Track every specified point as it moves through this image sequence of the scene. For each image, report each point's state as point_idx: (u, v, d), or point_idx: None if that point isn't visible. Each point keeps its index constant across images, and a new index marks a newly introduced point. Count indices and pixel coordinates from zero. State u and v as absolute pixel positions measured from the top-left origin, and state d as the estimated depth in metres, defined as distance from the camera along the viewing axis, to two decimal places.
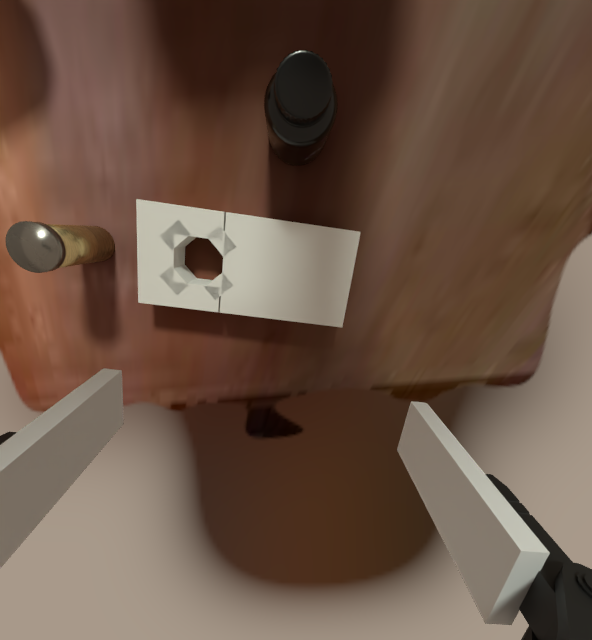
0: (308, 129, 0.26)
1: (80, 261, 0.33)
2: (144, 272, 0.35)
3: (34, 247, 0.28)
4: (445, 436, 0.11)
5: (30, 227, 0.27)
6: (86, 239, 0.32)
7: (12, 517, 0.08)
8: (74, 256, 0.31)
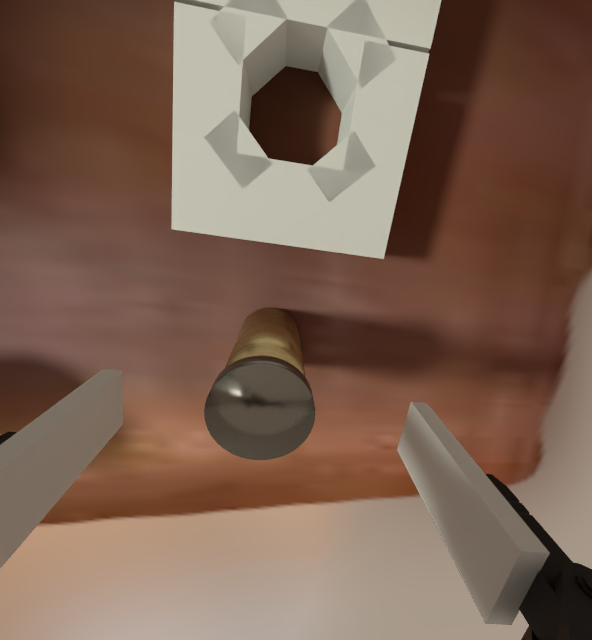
0: None
1: (295, 347, 0.16)
2: (320, 235, 0.16)
3: (259, 411, 0.13)
4: (445, 436, 0.11)
5: (216, 410, 0.12)
6: (253, 332, 0.17)
7: (12, 517, 0.08)
8: (284, 349, 0.15)
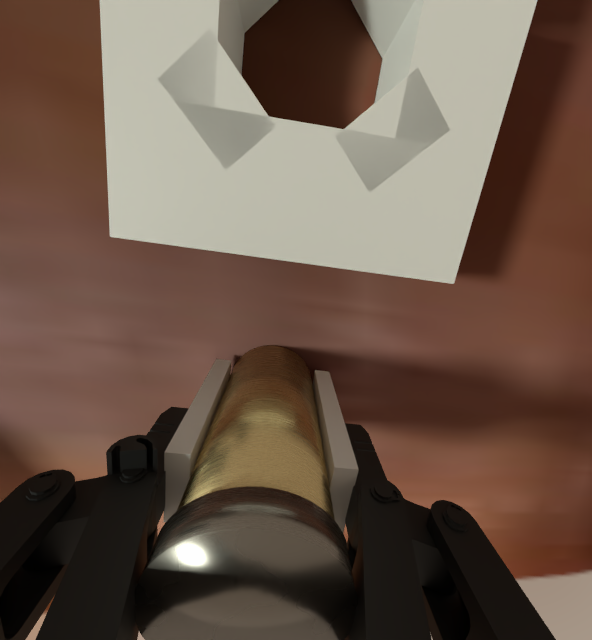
0: None
1: (311, 429, 0.10)
2: (353, 246, 0.10)
3: (245, 606, 0.06)
4: (327, 394, 0.13)
5: (157, 606, 0.06)
6: (243, 401, 0.10)
7: None
8: (293, 448, 0.08)
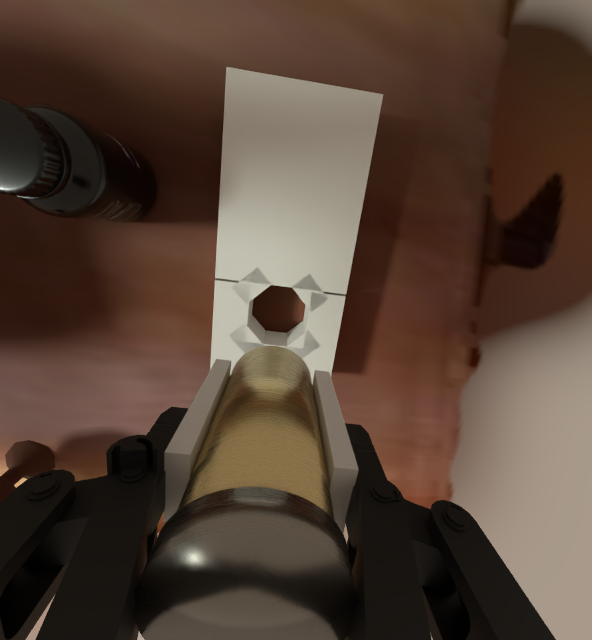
0: (73, 146, 0.18)
1: (311, 430, 0.10)
2: None
3: (245, 606, 0.06)
4: (327, 394, 0.13)
5: (157, 607, 0.06)
6: (243, 401, 0.10)
7: None
8: (293, 448, 0.08)
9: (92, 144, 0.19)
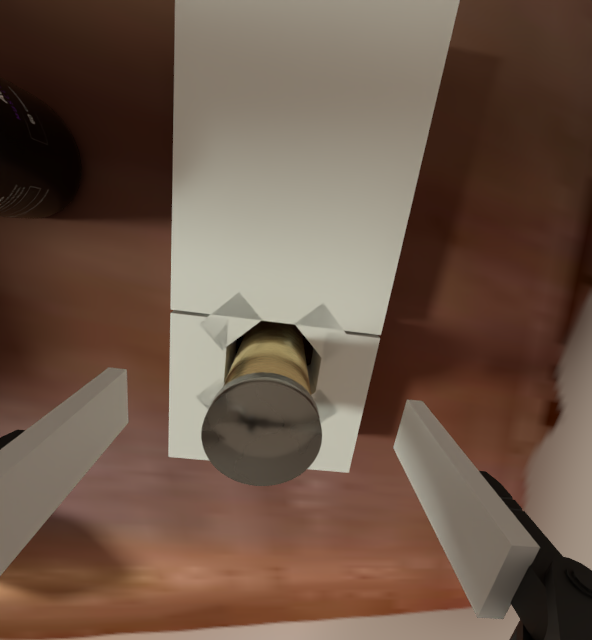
0: None
1: (300, 361, 0.15)
2: None
3: (261, 433, 0.11)
4: (440, 434, 0.11)
5: (214, 432, 0.11)
6: (255, 344, 0.16)
7: (22, 513, 0.08)
8: (288, 364, 0.14)
9: None
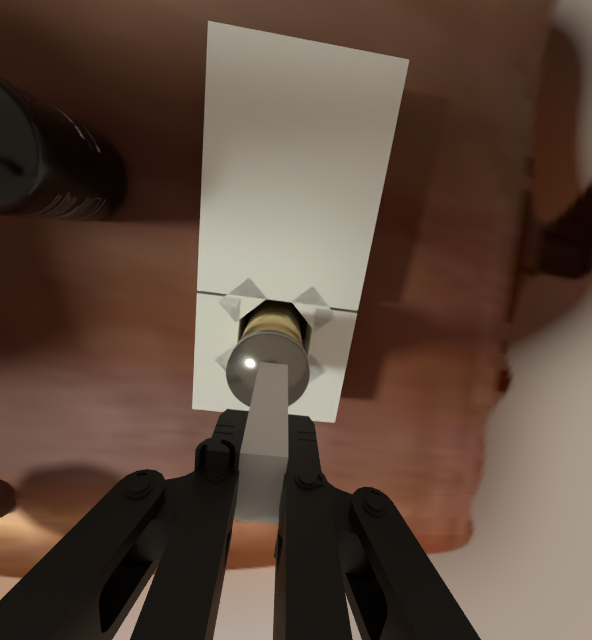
0: None
1: (295, 328, 0.20)
2: (291, 410, 0.24)
3: None
4: (279, 386, 0.13)
5: (235, 370, 0.16)
6: (261, 316, 0.21)
7: None
8: (286, 327, 0.19)
9: (21, 115, 0.14)
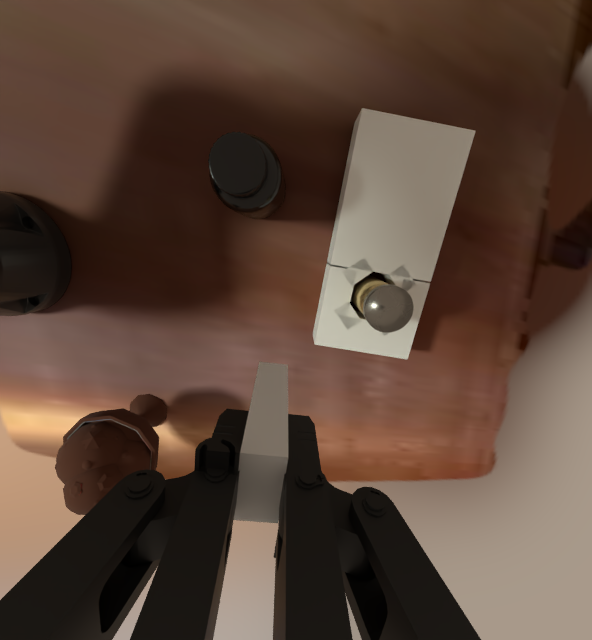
0: (269, 164, 0.26)
1: None
2: (379, 348, 0.36)
3: (389, 307, 0.29)
4: (279, 386, 0.13)
5: (370, 306, 0.29)
6: (372, 281, 0.33)
7: None
8: None
9: (278, 162, 0.26)
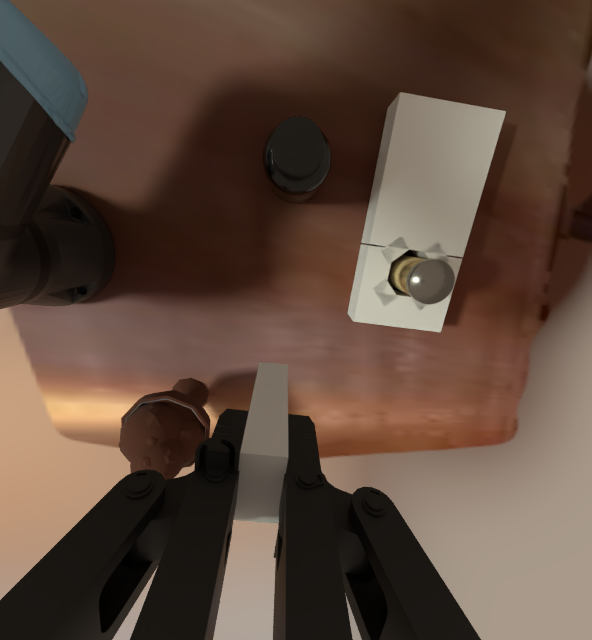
0: None
1: None
2: (414, 323, 0.38)
3: (432, 280, 0.31)
4: (279, 386, 0.13)
5: (415, 279, 0.31)
6: (409, 258, 0.35)
7: None
8: None
9: (328, 145, 0.28)
